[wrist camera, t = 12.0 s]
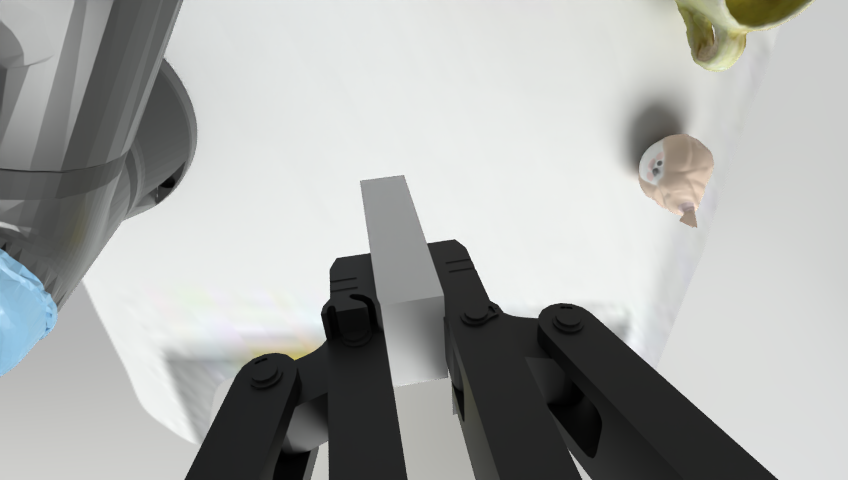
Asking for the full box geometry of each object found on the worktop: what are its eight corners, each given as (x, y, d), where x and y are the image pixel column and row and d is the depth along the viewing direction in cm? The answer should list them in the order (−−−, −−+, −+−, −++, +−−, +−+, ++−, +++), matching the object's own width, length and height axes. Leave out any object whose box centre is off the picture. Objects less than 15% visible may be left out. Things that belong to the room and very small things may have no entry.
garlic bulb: (612, 165, 46) (661, 203, 40) (666, 113, 44) (726, 144, 38) (649, 200, 49) (699, 242, 43) (700, 153, 47) (761, 189, 41)
